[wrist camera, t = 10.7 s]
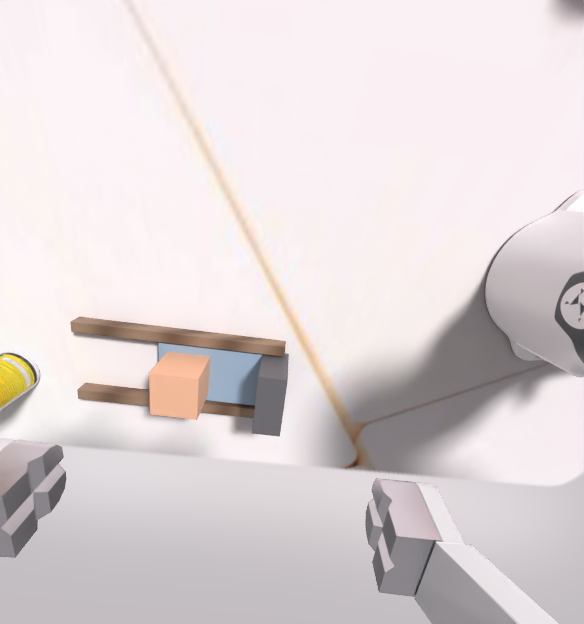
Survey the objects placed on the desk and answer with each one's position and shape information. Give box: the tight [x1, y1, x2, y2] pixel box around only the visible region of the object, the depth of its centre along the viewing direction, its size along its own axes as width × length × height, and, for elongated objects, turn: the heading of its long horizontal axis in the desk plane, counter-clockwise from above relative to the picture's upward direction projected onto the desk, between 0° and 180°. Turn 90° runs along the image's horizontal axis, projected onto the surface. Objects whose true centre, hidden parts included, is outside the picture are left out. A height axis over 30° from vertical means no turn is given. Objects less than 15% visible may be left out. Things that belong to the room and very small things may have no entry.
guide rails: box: [71, 317, 286, 418], centre depth 40 cm, size 24×10×2 cm, turn 83°
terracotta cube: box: [149, 352, 210, 420], centre depth 37 cm, size 5×5×5 cm
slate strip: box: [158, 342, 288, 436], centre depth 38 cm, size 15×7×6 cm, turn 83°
